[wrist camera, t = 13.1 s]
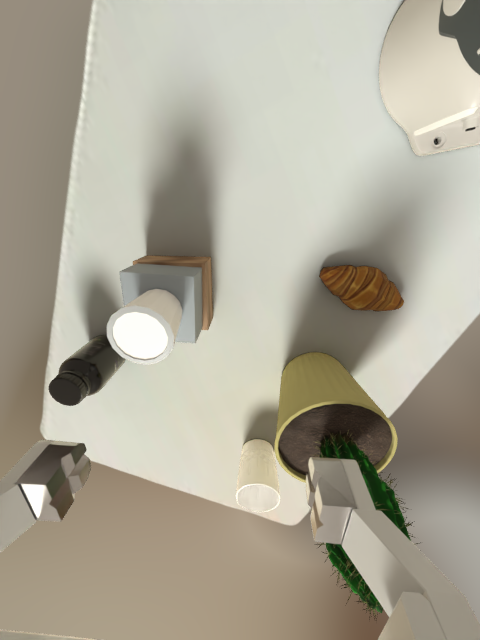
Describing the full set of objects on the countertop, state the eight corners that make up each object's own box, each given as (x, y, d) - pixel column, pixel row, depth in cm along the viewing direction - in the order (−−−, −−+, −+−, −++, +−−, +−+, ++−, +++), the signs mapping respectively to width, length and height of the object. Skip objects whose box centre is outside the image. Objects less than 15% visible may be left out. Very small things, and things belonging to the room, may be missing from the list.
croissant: (410, 281, 39) (431, 291, 35) (385, 319, 42) (400, 333, 37) (330, 247, 38) (340, 253, 33) (308, 289, 41) (315, 299, 36)
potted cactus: (275, 336, 44) (305, 551, 17) (366, 346, 44) (550, 580, 16) (264, 407, 50) (273, 647, 23) (344, 415, 50) (450, 669, 23)
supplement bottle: (133, 364, 48) (96, 410, 37) (99, 367, 49) (53, 414, 38) (120, 331, 46) (77, 370, 35) (85, 335, 46) (31, 375, 35)
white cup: (243, 433, 53) (240, 480, 44) (280, 440, 54) (285, 489, 45) (235, 458, 57) (231, 507, 48) (271, 466, 57) (273, 516, 48)
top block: (202, 267, 35) (193, 276, 31) (202, 327, 39) (195, 343, 34) (137, 263, 36) (119, 271, 31) (143, 322, 39) (128, 338, 35)
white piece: (127, 284, 31) (98, 306, 25) (184, 283, 31) (169, 305, 25) (137, 334, 34) (113, 365, 28) (190, 334, 34) (177, 365, 28)
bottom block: (211, 256, 40) (205, 263, 35) (213, 317, 44) (207, 329, 39) (146, 255, 40) (132, 261, 36) (154, 315, 44) (142, 327, 40)
